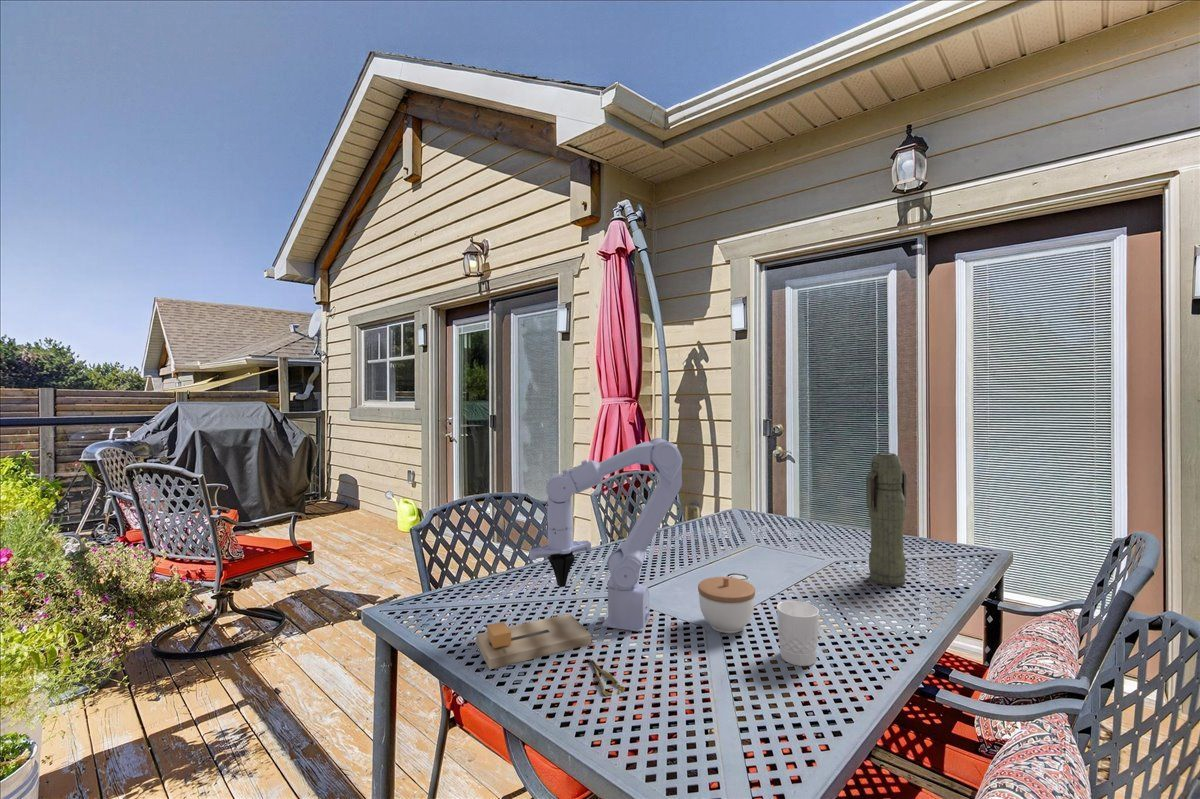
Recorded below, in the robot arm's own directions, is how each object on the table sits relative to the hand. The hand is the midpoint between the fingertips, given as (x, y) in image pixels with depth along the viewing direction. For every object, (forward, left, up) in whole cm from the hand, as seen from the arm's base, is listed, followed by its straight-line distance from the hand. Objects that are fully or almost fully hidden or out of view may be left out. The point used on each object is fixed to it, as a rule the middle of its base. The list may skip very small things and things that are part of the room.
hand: (561, 585), depth 121 cm
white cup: (-51, -1, -10) cm, 52 cm away
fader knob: (+8, +15, -7) cm, 18 cm away
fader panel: (+3, +10, -9) cm, 14 cm away
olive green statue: (-75, -52, -10) cm, 92 cm away
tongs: (-16, +18, -10) cm, 26 cm away
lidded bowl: (-36, -11, -10) cm, 39 cm away
